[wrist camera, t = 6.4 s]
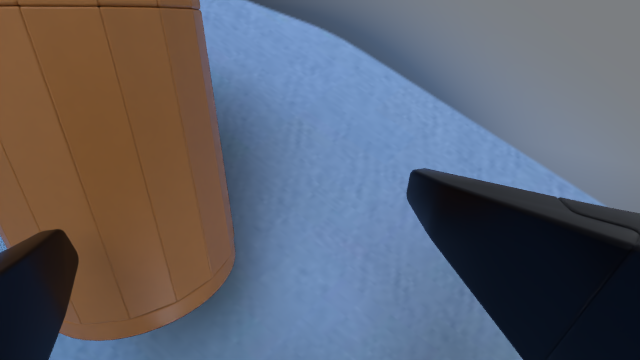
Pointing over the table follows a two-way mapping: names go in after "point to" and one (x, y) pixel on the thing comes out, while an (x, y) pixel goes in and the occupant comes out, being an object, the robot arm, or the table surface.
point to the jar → (115, 156)
